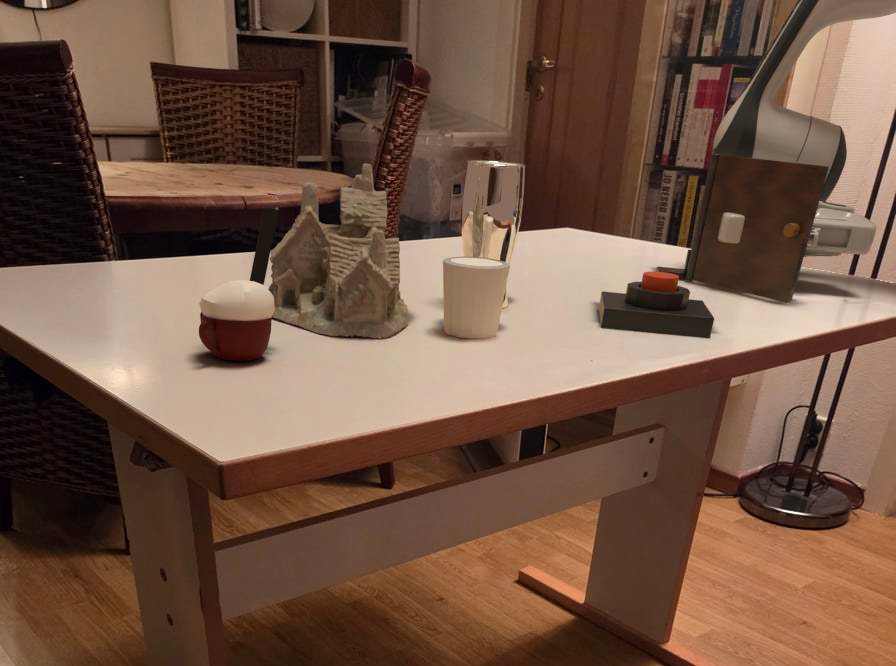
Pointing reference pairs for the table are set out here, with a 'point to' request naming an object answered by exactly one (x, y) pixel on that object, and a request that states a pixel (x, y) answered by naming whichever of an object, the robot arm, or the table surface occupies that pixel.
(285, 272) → the ceramic cottage
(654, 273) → the button
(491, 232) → the beer glass
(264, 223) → the cocoa
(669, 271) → the gray angle bracket
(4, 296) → the table surface
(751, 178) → the door
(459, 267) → the white cup
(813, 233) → the robot arm
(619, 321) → the buzzer
